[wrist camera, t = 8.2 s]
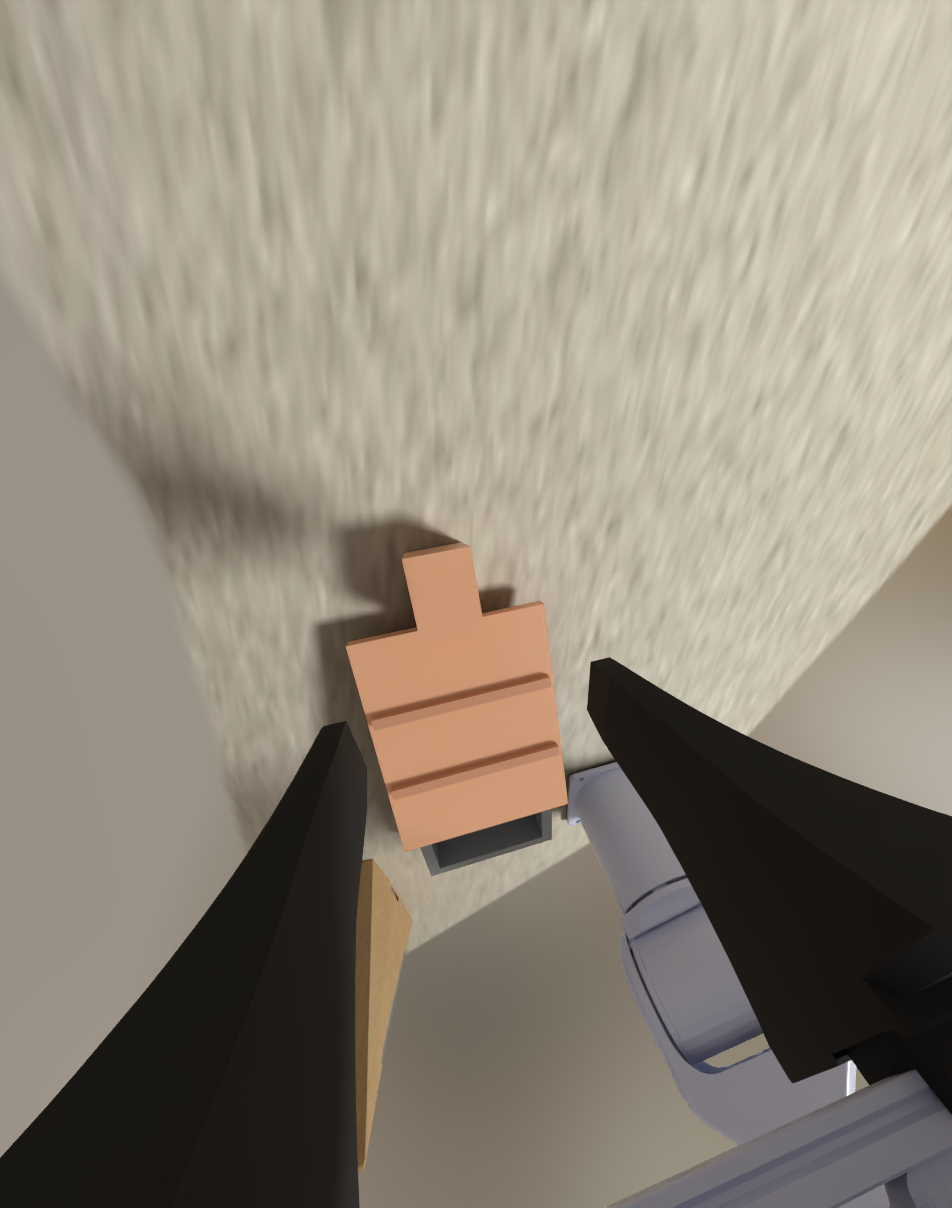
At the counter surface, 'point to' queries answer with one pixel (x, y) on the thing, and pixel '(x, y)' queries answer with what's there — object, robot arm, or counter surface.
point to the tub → (488, 842)
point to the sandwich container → (375, 987)
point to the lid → (461, 706)
